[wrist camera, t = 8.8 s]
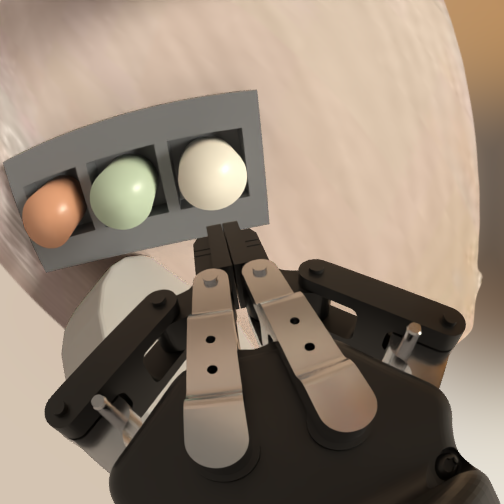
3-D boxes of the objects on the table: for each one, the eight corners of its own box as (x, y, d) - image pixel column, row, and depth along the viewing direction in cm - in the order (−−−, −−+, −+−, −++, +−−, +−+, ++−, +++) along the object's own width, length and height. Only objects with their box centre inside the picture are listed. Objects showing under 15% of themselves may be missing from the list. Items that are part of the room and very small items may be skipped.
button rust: (36, 183, 20) (14, 202, 17) (78, 168, 21) (60, 184, 17) (53, 229, 23) (35, 253, 19) (94, 217, 24) (80, 241, 20)
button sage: (98, 162, 21) (82, 176, 17) (151, 147, 22) (144, 159, 18) (112, 212, 24) (101, 235, 20) (163, 200, 25) (160, 221, 21)
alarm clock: (83, 276, 28) (38, 444, 11) (119, 231, 26) (71, 420, 10) (214, 357, 39) (241, 488, 22) (253, 329, 37) (299, 467, 21)
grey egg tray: (18, 154, 19) (3, 162, 17) (249, 90, 22) (257, 89, 20) (55, 256, 26) (46, 272, 23) (261, 211, 29) (269, 224, 26)
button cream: (174, 142, 22) (172, 152, 18) (232, 131, 23) (242, 139, 19) (185, 195, 25) (185, 216, 21) (239, 185, 25) (250, 203, 22)
